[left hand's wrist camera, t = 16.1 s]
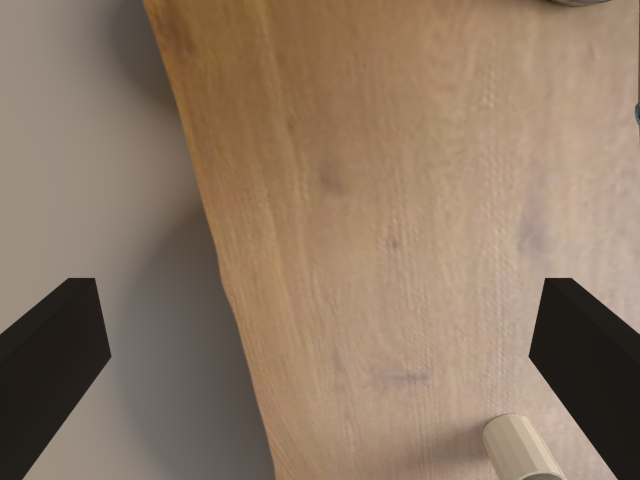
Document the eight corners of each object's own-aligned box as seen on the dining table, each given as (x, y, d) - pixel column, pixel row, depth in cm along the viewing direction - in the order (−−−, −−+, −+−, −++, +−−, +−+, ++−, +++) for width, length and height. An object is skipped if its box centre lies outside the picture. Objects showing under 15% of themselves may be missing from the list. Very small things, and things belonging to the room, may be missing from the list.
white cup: (485, 413, 58) (513, 471, 50) (538, 413, 58) (575, 471, 50) (478, 453, 61) (503, 514, 53) (529, 453, 61) (562, 514, 53)
